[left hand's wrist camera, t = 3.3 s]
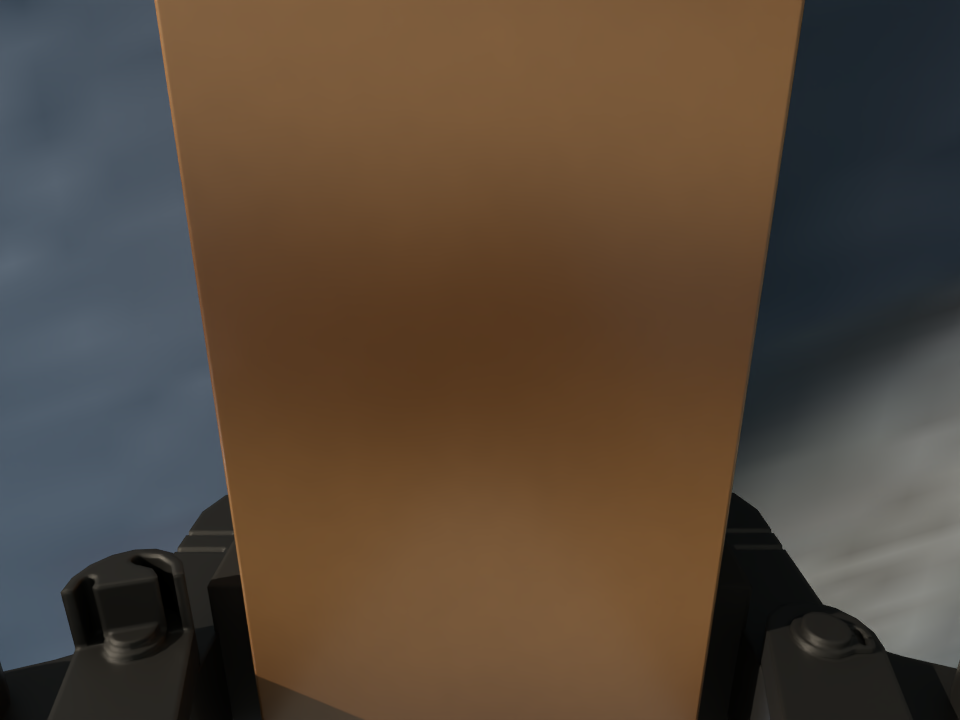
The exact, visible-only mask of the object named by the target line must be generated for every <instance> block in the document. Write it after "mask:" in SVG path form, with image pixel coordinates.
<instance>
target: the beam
mask: <svg viewBox="0 0 960 720" xmlns="http://www.w3.org/2000/svg"><path fill="white" fill-rule="evenodd" d="M804 4H805V0H155V7H156V14H157V20H158V27H159V34H160V41H161V47H162V54H163V61H164V67H165V74H166V81H167V87H168V94H169V101H170V108H171V114H172V121H173V128H174V134H175V141H176V148H177V155H178V161H179V168H180V175H181V181H182V188H183V195H184V201H185V208H186V215H187V222H188V228H189V235H190V242H191V248H192V255H193V262H194V269H195V275H196V282H197V289H198V295H199V302H200V309H201V315H202V322H203V329H204V336H205V342H206V349H207V356H208V362H209V369H210V376H211V383H212V389H213V396H214V403H215V409H216V416H217V423H218V429H219V436H220V443H221V450H222V456H223V463H224V470H225V476H226V483H227V490H228V497H229V503H230V510H231V517H232V523H233V530H234V537H235V543H236V550H237V557H238V564H239V570H240V577H241V584H242V590H243V597H244V604H245V611H246V617H247V624H248V631H249V637H250V644H251V651H252V657H253V664H254V671H255V678H256V684H257V691H258V698H259V704H260V711H261V718H262V720H698V715H699V708H700V702H701V695H702V688H703V681H704V675H705V668H706V661H707V655H708V648H709V641H710V634H711V628H712V621H713V614H714V608H715V601H716V594H717V587H718V581H719V574H720V567H721V561H722V554H723V547H724V541H725V534H726V527H727V520H728V514H729V507H730V500H731V494H732V487H733V480H734V473H735V467H736V460H737V453H738V447H739V440H740V433H741V426H742V420H743V413H744V406H745V400H746V393H747V386H748V380H749V373H750V366H751V359H752V353H753V346H754V339H755V333H756V326H757V319H758V312H759V306H760V299H761V292H762V286H763V279H764V272H765V265H766V259H767V252H768V245H769V239H770V232H771V225H772V219H773V212H774V205H775V198H776V192H777V185H778V178H779V172H780V165H781V158H782V151H783V145H784V138H785V131H786V125H787V118H788V111H789V104H790V98H791V91H792V84H793V78H794V71H795V64H796V58H797V51H798V44H799V37H800V31H801V24H802V17H803V11H804Z"/></svg>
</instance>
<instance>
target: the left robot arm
mask: <svg viewBox="0 0 960 720" xmlns="http://www.w3.org/2000/svg"><path fill="white" fill-rule="evenodd" d="M61 596H62V599H63V603H64V607H65V611H66V615H67V618H68V622H69V626H70V630H71V634H72V637H73V641H74V645H75V652H74V654H73V655H69V656H66V657H63V658H59V659H56V660H52V661H48V662H43V663H39V664H34V665H30V666H26V667H21V668H17V669H13V670H8V671H4V672H3V669H2V666H1V663H0V720H262V718H261V711H260V704H259V698H258V691H257V684H256V678H255V671H254V664H253V657H252V651H251V644H250V637H249V631H248V624H247V617H246V611H245V604H244V597H243V590H242V584H241V577H240V570H239V564H238V557H237V550H236V543H235V537H234V530H233V523H232V517H231V510H230V503H229V497H228V495H226V496H224V497H223V498H221V499H220V500H218V501H217V502H216V503H214V504H213V505H211V506H210V507H209V508H207V509H206V510H204V511H203V512H202V513H201V515H200V516H199V518H198V519H197V521H196V522H195V524H194V525H193V526H192V528H191V529H190V531H189V535H186V537H185V538H184V540H183V541H182V542H181V544H180V545H179V547H178V551H177V552H175V553H174V554H173V553H171V552H167V551H163V550H159V549H139V550H132V551H127V552H123V553H119V554H115V555H112V556H109V557H107V558H105V559H102V560H100V561H98V562H96V563H93V564H91V565H89V566H88V567H87V568H85V569H84V570H82V571H81V572H80V573H78V574H77V575H75V576H74V577H73V578H72V579H71V580H70V581H69V582H68V584H67V585H66V586H65V588H64V589H63V590H62V591H61ZM698 720H960V661H959V664H958V668H957V669H956V668H951V667H947V666H942V665H938V664H934V663H929V662H925V661H921V660H916V659H912V658H907V657H903V656H900V655H897V654H893V653H890V652H887V651H885V648H884V647H883V645H882V644H881V642H880V641H879V639H878V638H877V636H876V635H875V633H874V632H873V631H871V630H870V629H869V628H868V627H866V626H865V625H864V624H863V623H862V622H860V621H859V620H858V619H856V618H854V617H852V616H850V615H848V614H846V613H844V612H842V611H840V610H838V609H836V608H833V607H830V606H826V605H823V604H822V602H821V601H820V599H819V598H818V597H817V595H816V594H815V592H814V591H813V589H812V588H811V586H810V585H809V584H808V582H807V581H806V579H805V578H804V576H803V575H802V573H801V572H800V571H799V569H798V568H797V566H796V565H795V563H794V562H793V560H792V559H791V558H790V556H789V555H788V553H787V552H786V550H783V549H782V544H781V543H780V542H779V540H778V539H777V537H776V536H775V534H774V533H771V529H770V527H769V526H768V524H767V523H766V521H765V520H764V518H763V517H762V516H761V514H760V513H759V511H758V510H757V509H756V508H754V507H753V506H752V505H750V504H749V503H747V502H746V501H744V500H743V499H742V498H740V497H739V496H737V495H736V494H735V493H732V494H731V500H730V507H729V514H728V520H727V527H726V534H725V541H724V547H723V554H722V561H721V567H720V574H719V581H718V587H717V594H716V601H715V608H714V614H713V621H712V628H711V634H710V641H709V648H708V655H707V661H706V668H705V675H704V681H703V688H702V695H701V702H700V708H699V715H698Z"/></svg>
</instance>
